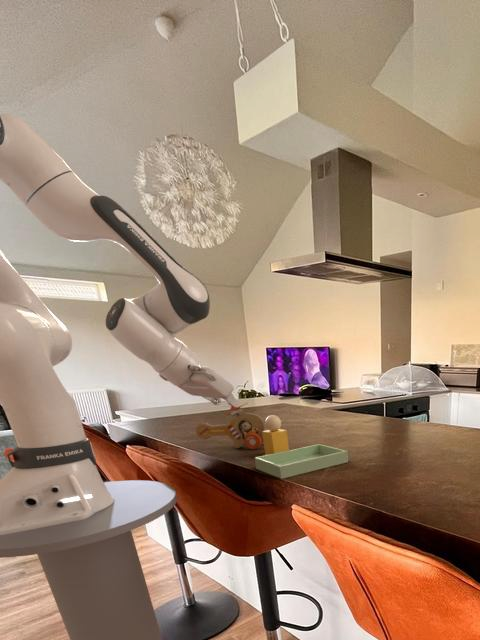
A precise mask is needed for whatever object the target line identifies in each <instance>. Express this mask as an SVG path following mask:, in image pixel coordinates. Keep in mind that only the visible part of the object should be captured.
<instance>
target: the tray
mask: <svg viewBox="0 0 480 640" xmlns="http://www.w3.org/2000/svg"><path fill="white" fill-rule="evenodd" d="M254 463H255V469H256V470H258V471H260V472H263V473H266V474H268V475H271V476H273V477H276V478H278V479H280V480H283V479H286V478H290V477H295V476H299V475H303V474H306V473H310V472H314V471H319V470H323V469H326V468H330V467H335V466H338V465H343V464H347V463H349V454H348V450H345V449H341V448H337V447H333V446H329V445H326V444H320V443H317V444H314V445H308V446H303V447H299V448H294V449H289V451H284V452H279V453H274V454H269V455H265V454H264V455H260V456H255V457H254Z"/></svg>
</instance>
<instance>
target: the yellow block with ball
mask: <svg viewBox="0 0 480 640" xmlns="http://www.w3.org/2000/svg"><path fill="white" fill-rule="evenodd" d="M264 424H265V428H266V429H267V430H266V429H265V431H262V436H263V449H264V455H269V454H274V453H279V452H284V451H289V450H290V446H289V445H290V444H289V439H288V431H287V429H281V427H282V420H281V418H280V417H279V416H277V415H274V414H271V415H268V416H267V417H266V418H265V421H264Z"/></svg>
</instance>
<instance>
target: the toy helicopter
mask: <svg viewBox="0 0 480 640" xmlns="http://www.w3.org/2000/svg"><path fill="white" fill-rule="evenodd" d="M248 404H249V402H246V403H244V404H241V405H240V406H239V405H238V406H237V407H232V406H230V408H229V410H230V412H228V413H227V414H225V415H224V416H222V418H225V417H227V416H228V415H230V416H231V417H233V418H232V419H231V420H230V421H229V422H228V423H225V424H216V425H212V424H210V423H207V422H201V423H199V424H197V426H196V428H195V433H196V435H197V436H198V437H199V438H200V439H202V440H208V439H210V438H211V437H213V436H227V437H229V439H230V440H232V442H233V447H234V448H235V449H240V448H241V447H244V446H245V447H247V448H248V449H250V450H257V449H259V448H260V447H261V446H262V444H264V442H263V436H262V431H266V425H265V421H264V419H263V418H262V417H261V416H260V415H258V414H256V413H252V412H244V413H241V412H243V409H242V408H241V407H243V406H245V405H248Z"/></svg>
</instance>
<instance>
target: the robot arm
mask: <svg viewBox="0 0 480 640" xmlns="http://www.w3.org/2000/svg"><path fill="white" fill-rule="evenodd" d="M0 181H1V182H2V183H4V184H5V186H7V187H8V188H9V189H10V190H11V191H12V193H14V195H15V196H16V197H17V198H18V199H19V200H20V201H21V202H22V204H24V206H25V207H26V208H27V209H28V210H29V211H30V212H31V213H32V215H33V216H34V217H36V218H37V220H38V221H39V222H40V223H41V224H42V225H43V226H44V227H45V228H47V229H48V230H49V231H50V232H52V233H53V234H55V235H56V236H58V237H60V238H62V239H65V240H69V241H71V242H72V241H73V242H82V243H86V242H92V241H93V242H94V241H98V240H99V241H100V240H101V241H102V240H106V241H111V242H114V243H116V244H118V245H119V246H121V247H122V248H124V249H125V250H126V251H127V252H128V253H129V254H130V255H131V256H132V257H134V259H136V260H137V262H139V263H140V264H141V265H142V266H143V267H144V268H145V269H146V270H147V271H148V272H149V273H151V275H153V277H155V279H156V280H157V281H158V283H157V284H156V285H155V286H153V287H152V288H151V289H149V290H147V291H146V292H145V293H143V294H141V295H139V296H137V297H134V298H125V297H122V298H118V299H117V300H116V301H115V302H114V303H113V304H112V305H111V307H110V309H109V310H108V312H107V314H106V316H105V329H106V330H107V331H108V332H109V334H111V336H112V337H113V338H114V339H115V340H116V342H118V343H119V344H120V345H121V346H123V348H125V349H126V350H127V351H129V352H130V353H131V354H132V355H134V356H135V357H136V358H138V359H139V360H142V361H144V362H145V363H147V364H149V365H150V366H151V368H152V369H153V370H154V371H155V372H156V373H158V376H159V377H160V379H162V380H164V381H166V382H169V383H170V384H171V385H173V386H175V387H177V388H179V389H181V390H182V391H183V392H185V393H186V394H188V395H191V396H193V397H194V396H195V397H202V398H203V399H205V400H206V401H208V402H210V403H212V404H213V405H214V406H219V405H220V404H221V403H222V399H223V400H224V401H226V402H227V404H228V405H229V406H230V407H239V405H240V401H239V400H238V399H237V398H235V396H234V394H233V391H234V390H235V387H234V385H233V383H231V382H230V381H229V380H227V378H225V377H224V376H222V375H221V374H220V373H218V372H217V371H216V370H214V369H212V368H211V367H209V366H207V365H205V366H203V365H201V364H200V359H201V358H200V357H199V355H198V354H197V353H195V352H194V351H193V350H192V349H191V348H190V347H188V346H187V345H186V344H185V343H184V342H183V341H181V340H179V339H178V338H177V334H179V333H181V332H182V331H184V330H185V329H187V328H188V327H190V326H191V325H194V324H196V323H198V322H200V321H202V320H205V319H206V318H207V317H208V316H209V315H210V309H211V299H210V295H209V291H208V289H207V287H206V286H205V284H204V283H203V282H202V281H201V280H200V278H198V277H197V276H196V275H195V274H193V273H192V272H191V271H189V270H188V269H187V268H186V267H184V266H183V265H182V264H181V263H180V262H179V261H177V260H176V258H174V256H173V255H171V253H170V252H169V251H168V250H167V249H165V247H164V246H162V245H161V243H159V241H158V240H157V239H155V237H154V236H152V234H150V232H149V231H148V230H147V229H146V228H145V227H144V226H143V225H141V223H139V222H138V220H137V219H136V218H135V217H134V216H133V215H131V214H130V213H129V212H128V211H127V210H126V209H125V208H124V207H123V206H122V205H120V204H119V203H118V202H117V201H115V200H114V199H112V198H111V197H109V196H106V195H100V194H98V193H97V192H95V191H94V190H93V189H92V188H90V187H89V186H88V185H86V184H85V183H84V182H83V181H82V180H81V178H79V177H78V175H76V173H75V172H74V171H73V170H72V169H71V167H69V165H68V164H67V163H66V162H65V161H64V159H63V158H62V157H61V156H60V155H59V154H58V153H57V152H56V151H55V150H54V149H53V148H52V147H51V146H50V145H49V144H48V142H46V141H45V140H44V139H43V138H42V137H41V136H40V135H39V134H38V133H37V132H36V131H35V130H34V129H33V128H32V127H30V125H28V124H27V123H26V122H25V121H23V120H22V119H20V118H19V117H16V116H15V115H11V114H1V113H0ZM72 350H73V338H72V336H71V332H70V331H69V329H68V328H67V327H66V326H65V324H63V322H61V321H60V320H59V319H58V318H57V317H56V316H55V315H54V314H53V313H52V311H50V309H49V308H48V307H47V306H46V305H45V303H44V302H43V300H41V298H40V297H39V296H38V294H37V293H36V292H35V291H34V290H33V289H32V288H31V287H30V285H29V284H28V283H27V282H26V281H25V279H24V278H23V277H22V276H21V274H19V272H18V271H17V270H16V269H15V267H13V265H12V264H11V262H10V261H9V260H8V258H6V256H5V255H4V253H3V252H2V250H1V249H0V405H1V407H2V409H3V411H4V413H5V417H6V418H7V421H8V423H9V427H10V429H11V431H12V434H13V437H14V439H15V442H16V445H17V446H16V447H15V448H13V447H6V448H5V449H4V450H3V455H4V458H6V459H7V460H8V463H9V465H10V466H11V469H10V470H9V471H8V472H7V473H6V474H5V475H4V476H3V477H1V479H0V535H6V534H11V533H16V532H21V531H27V530H32V529H37V528H42V527H47V526H53V525H58V524H63V523H68V522H74V521H79V520H83V519H86V518H88V517H90V516H91V515H93V514H94V513H96V512H98V511H100V510H102V509H105V508H107V507H108V506H110V505H111V504H112V503H113V502H114V499H113V497H112V496H111V494H110V493H109V491H108V490H107V488H106V486H105V484H104V483H103V482H104V480H103V479H102V477H101V474H100V472H99V469H98V468H97V457H96V455H95V451H94V448H93V445H92V443H91V440H90V439H89V438H88V437H87V436H86V433H85V430H84V426H83V423H82V422H83V421H82V420H81V419H82V418H81V416H80V413H79V409H78V405H77V403H76V400H75V398H74V397H73V396H72V395H71V394H70V393H69V392H68V391H67V389H66V388H65V386H64V384H63V383H62V381H61V379H60V378H59V376H58V374H57V372H56V370H55V369H54V367H55V366H57V365H58V364H60V363H62V362H63V361H64V360H66V358H68V357H69V356H70V354H71V352H72Z"/></svg>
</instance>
